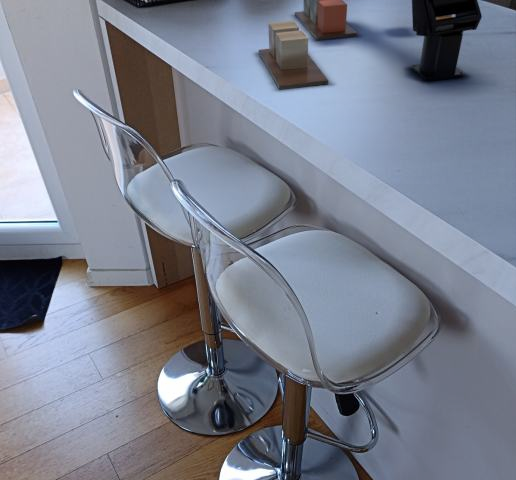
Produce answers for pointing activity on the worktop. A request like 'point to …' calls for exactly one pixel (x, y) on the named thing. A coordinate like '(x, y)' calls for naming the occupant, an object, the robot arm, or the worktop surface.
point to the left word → (290, 57)
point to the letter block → (332, 16)
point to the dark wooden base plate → (311, 22)
